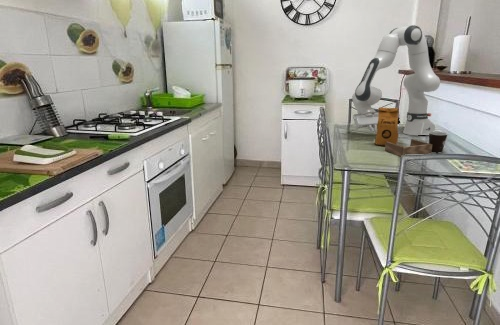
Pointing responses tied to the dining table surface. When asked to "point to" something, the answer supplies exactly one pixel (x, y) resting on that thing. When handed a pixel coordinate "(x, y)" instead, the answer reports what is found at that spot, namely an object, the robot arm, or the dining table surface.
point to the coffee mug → (437, 141)
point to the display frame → (409, 148)
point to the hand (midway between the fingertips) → (374, 131)
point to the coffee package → (387, 126)
